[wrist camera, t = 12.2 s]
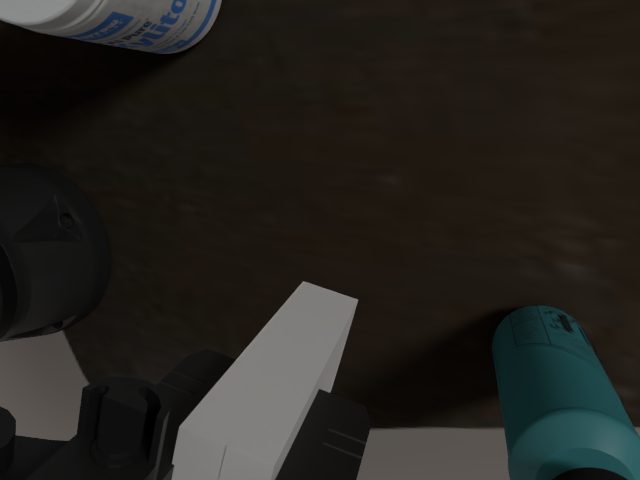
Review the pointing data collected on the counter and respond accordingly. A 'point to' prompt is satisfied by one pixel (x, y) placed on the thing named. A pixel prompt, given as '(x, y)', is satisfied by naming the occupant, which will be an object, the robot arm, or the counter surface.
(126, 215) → the counter surface
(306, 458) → the robot arm
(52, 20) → the supplement tub
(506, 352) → the beverage bottle
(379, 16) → the counter surface
